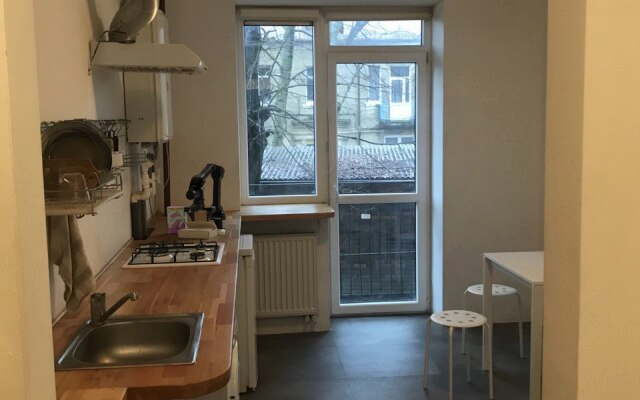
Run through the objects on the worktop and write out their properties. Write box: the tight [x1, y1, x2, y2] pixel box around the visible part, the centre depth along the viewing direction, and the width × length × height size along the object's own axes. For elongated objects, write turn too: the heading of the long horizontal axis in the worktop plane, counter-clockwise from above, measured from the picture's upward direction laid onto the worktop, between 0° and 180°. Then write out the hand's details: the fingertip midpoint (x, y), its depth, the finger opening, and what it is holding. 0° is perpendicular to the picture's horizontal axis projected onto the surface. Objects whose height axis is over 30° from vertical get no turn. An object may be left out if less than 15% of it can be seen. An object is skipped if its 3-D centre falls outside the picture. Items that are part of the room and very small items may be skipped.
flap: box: [185, 221, 217, 229], centre depth 398 cm, size 5×19×1 cm
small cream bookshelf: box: [177, 227, 219, 240], centre depth 395 cm, size 12×20×5 cm, turn 74°
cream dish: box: [218, 229, 226, 236], centre depth 402 cm, size 7×7×2 cm
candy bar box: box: [166, 206, 188, 235], centre depth 408 cm, size 11×5×16 cm, turn 83°
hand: (200, 223), depth 398 cm, fingers open, 9 cm apart
